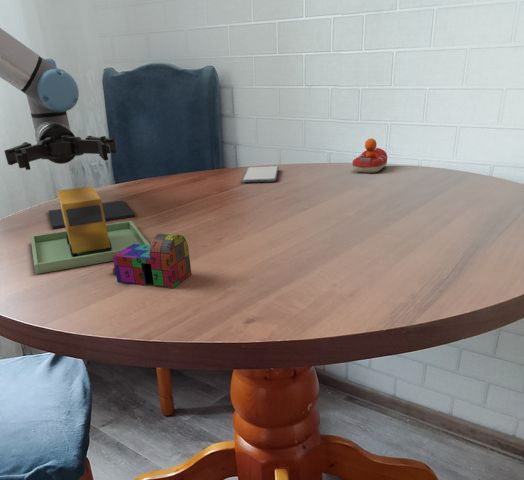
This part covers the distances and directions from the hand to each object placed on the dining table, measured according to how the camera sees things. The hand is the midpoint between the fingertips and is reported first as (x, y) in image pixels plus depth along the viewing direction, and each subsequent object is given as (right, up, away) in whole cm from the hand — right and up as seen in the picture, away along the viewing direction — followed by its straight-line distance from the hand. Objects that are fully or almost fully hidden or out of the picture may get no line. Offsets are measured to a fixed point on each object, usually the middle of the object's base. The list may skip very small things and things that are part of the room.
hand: (66, 157), depth 96 cm
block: (+18, -23, -15) cm, 33 cm away
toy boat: (+63, +12, +44) cm, 78 cm away
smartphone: (+35, +10, +43) cm, 56 cm away
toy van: (+5, -17, -3) cm, 18 cm away
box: (+5, -17, -3) cm, 18 cm away
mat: (-1, -6, +18) cm, 19 cm away
